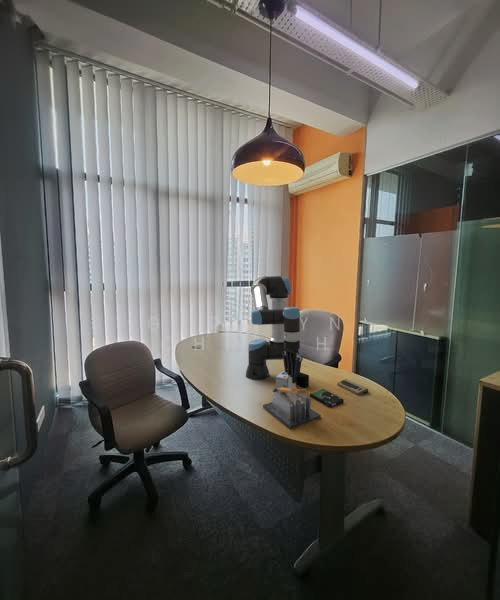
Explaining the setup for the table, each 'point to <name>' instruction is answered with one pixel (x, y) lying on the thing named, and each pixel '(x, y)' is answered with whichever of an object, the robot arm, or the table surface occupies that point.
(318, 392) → the disk drive
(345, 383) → the computer
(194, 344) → the table surface
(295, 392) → the latch bar
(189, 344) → the table surface
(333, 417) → the table surface
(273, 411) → the heatsink base
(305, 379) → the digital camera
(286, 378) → the light bulb box
